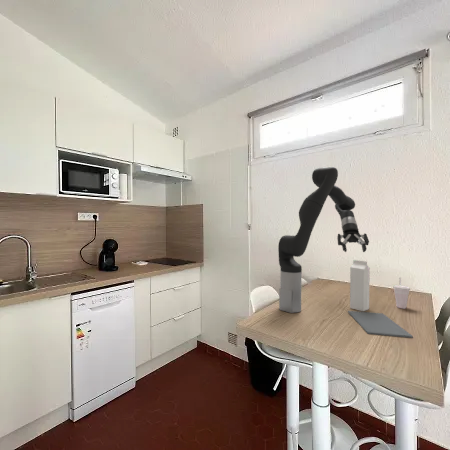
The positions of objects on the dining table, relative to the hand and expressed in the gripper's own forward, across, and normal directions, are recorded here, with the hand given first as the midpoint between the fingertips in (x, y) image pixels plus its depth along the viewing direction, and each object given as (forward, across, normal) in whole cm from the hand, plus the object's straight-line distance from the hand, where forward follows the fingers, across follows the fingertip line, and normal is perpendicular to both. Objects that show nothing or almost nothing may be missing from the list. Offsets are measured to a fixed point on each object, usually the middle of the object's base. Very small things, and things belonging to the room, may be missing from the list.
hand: (355, 251), depth 121 cm
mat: (+38, 0, -5) cm, 38 cm away
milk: (+27, -1, +8) cm, 28 cm away
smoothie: (+22, +18, +15) cm, 32 cm away
